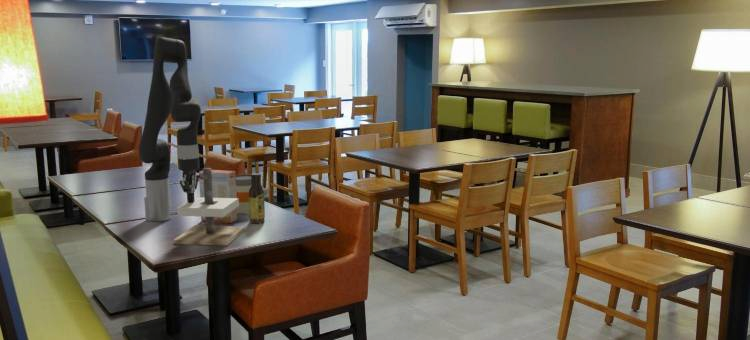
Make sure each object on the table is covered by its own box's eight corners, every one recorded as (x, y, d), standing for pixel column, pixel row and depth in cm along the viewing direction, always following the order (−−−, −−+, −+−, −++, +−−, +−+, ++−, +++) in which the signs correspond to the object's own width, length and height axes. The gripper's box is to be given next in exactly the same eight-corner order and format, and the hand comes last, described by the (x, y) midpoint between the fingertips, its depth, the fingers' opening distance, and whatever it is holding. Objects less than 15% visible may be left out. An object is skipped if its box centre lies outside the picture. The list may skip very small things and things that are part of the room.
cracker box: (238, 220, 259) (236, 170, 255) (230, 224, 253) (228, 173, 250) (209, 217, 264) (206, 168, 260) (200, 221, 258) (198, 171, 254)
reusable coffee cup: (256, 214, 269) (255, 179, 266) (227, 214, 269) (225, 179, 267) (262, 207, 282) (261, 174, 279) (234, 207, 282) (233, 174, 279)
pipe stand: (173, 243, 227) (169, 173, 222) (195, 228, 246) (191, 163, 242) (227, 245, 224) (223, 174, 220) (244, 230, 244) (242, 164, 239)
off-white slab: (177, 215, 226) (177, 207, 226) (196, 204, 243) (196, 197, 242) (223, 217, 224) (223, 208, 224) (238, 205, 241) (238, 198, 240)
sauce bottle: (261, 224, 253) (259, 175, 249) (247, 223, 254) (245, 175, 251) (267, 220, 259) (265, 172, 256) (253, 219, 260) (251, 172, 257)
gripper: (185, 153, 238) (188, 198, 241) (170, 159, 225) (173, 206, 228) (204, 153, 237) (207, 198, 240) (190, 159, 224) (193, 206, 227)
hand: (191, 202), depth 234 cm, fingers closed
